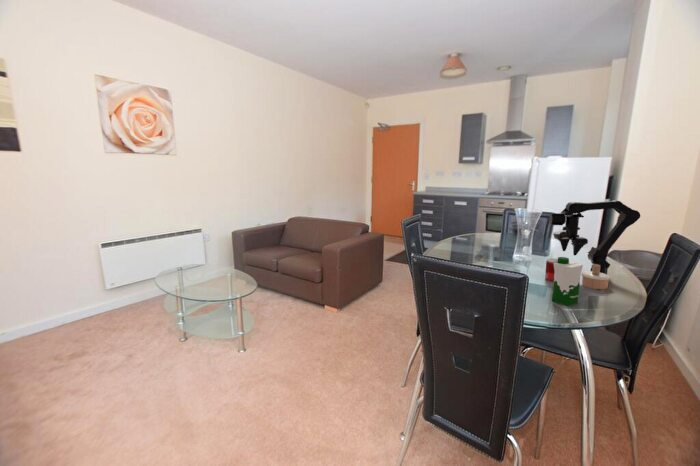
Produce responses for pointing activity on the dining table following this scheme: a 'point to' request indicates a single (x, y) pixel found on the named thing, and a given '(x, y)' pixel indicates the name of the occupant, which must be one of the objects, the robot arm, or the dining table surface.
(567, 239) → the robot arm
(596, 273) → the lid
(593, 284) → the bowl
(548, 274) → the canned food
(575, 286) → the milk carton
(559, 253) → the dining table surface
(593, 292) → the mat
